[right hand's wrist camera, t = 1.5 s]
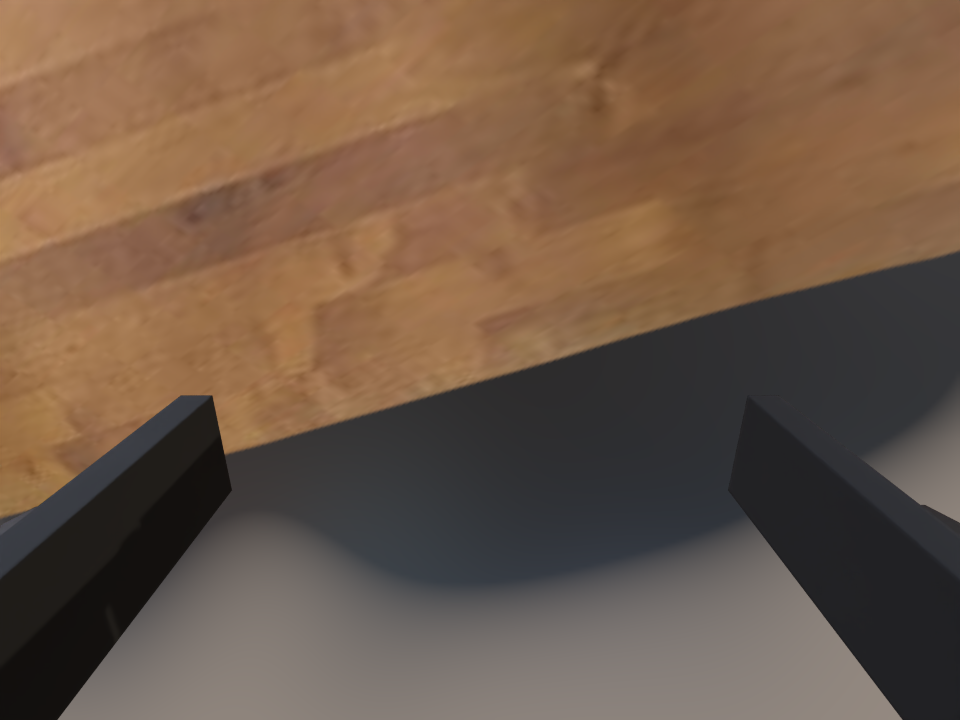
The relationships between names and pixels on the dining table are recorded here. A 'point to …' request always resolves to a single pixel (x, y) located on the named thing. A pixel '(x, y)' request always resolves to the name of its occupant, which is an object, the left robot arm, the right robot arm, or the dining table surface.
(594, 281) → the dining table surface
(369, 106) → the dining table surface
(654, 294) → the dining table surface
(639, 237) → the dining table surface
